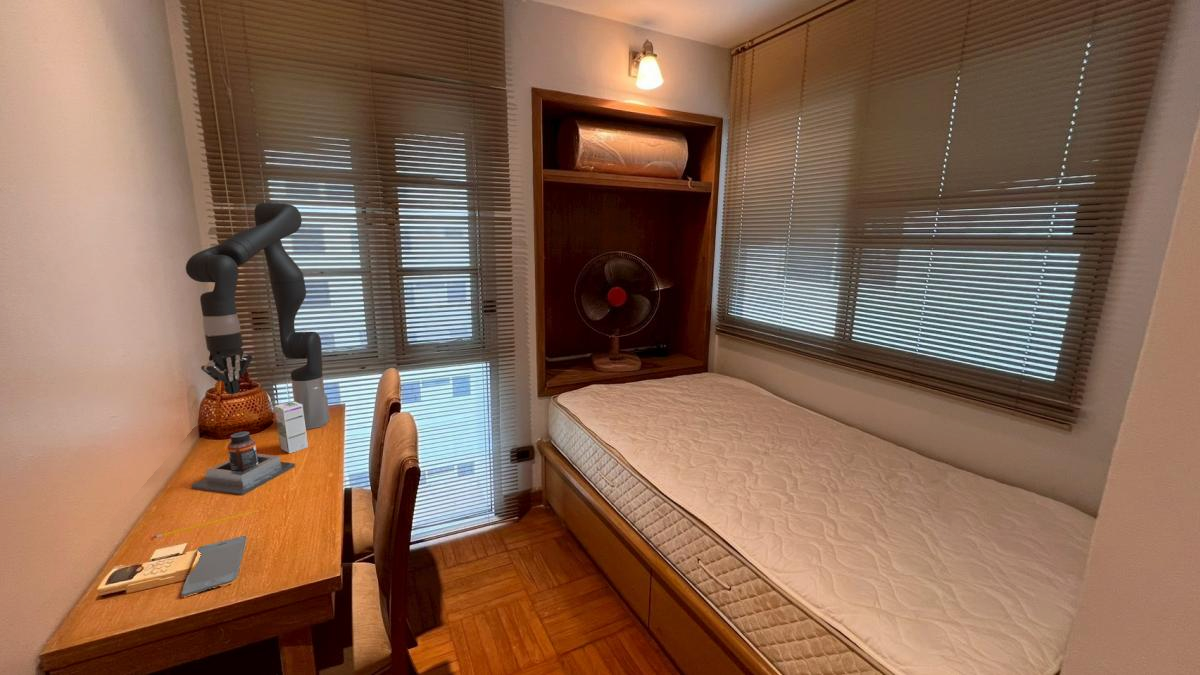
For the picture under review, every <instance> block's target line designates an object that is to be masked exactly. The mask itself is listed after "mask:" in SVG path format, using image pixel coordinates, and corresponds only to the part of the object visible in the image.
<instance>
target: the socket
mask: <svg viewBox="0 0 1200 675" xmlns="http://www.w3.org/2000/svg"><path fill="white" fill-rule="evenodd" d="M257 458H258V464H257V465H255V466H253V467H251V468H249V469H247V470H245V471H243V472H238V471H231V465H230V459H228V460H226V461H224V462H222V463H220V464H217V465H216V466H213V467H210V468H208V469H206V470H205V475H206V477H205V478H204V477H203V479H200V480H198V481H196V482H194V483H191V485H190V486H191V489H195V490H203V491H209V492H215V493H218V492H219V493H223V494H225V493H226V494H232V495H240V496H244V495H246V494H248V493H249V492H251V491H253V490H255V489H257V488H259V487H260V486H263V485H264V484H266V483H268V482H269V480H270V481H271V480H274V479H275V478H277V477H279V476H280V474H281V475H282V474H285V473H286V472H288V471H290V470H291V468H292V469H293V468H296V463H293V462H286V461H281V457H280V455H279V456H278V455H273V454H265V453H264V454H263V453H257ZM289 469H290V470H289ZM267 481H268V482H267ZM258 486H259V487H258ZM256 487H257V488H256Z"/></svg>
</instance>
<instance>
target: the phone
mask: <svg viewBox="0 0 1200 675" xmlns="http://www.w3.org/2000/svg"><path fill="white" fill-rule="evenodd" d="M246 539H247V536H246V535H242V536H237V537H234V538H230V539H226V540H221V541H217V542H214V543H209V544H206V545H202V546H200V547H198V548H197V551H199V552H200V553H201V554H200V555H201V556H200V558H199V561H198V563H197V564H196V567H195V569H194V570H193V571H192V572H191V573H190V575H188V574H187V577H186V579H185V583H184V584H183V587H182V590H181V592H180V595H181V596H188V595H190V594H194V593H198V594H199V593H201V592H202V591H203V592H206V591H205V590H207V589H210V588H213V587H216V586H219V585H223V584H227V583H230V582H232V581H234V580H235V579H236V578H237V576H238V572H239V568H240V569H241V567H240V564H241V565H242V563H241V560H242V561H243V559H242V556H243V557H244V554H243V552H244V553H245V550H244V548H245V549H246V546H245V544H247V541H246ZM247 540H248V539H247ZM197 551H196V552H197ZM239 573H240V572H239ZM238 577H239V576H238ZM219 587H220V586H219ZM210 590H211V589H210ZM207 591H208V590H207ZM181 596H180V597H181Z"/></svg>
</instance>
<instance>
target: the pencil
mask: <svg viewBox="0 0 1200 675" xmlns="http://www.w3.org/2000/svg"><path fill="white" fill-rule="evenodd" d="M253 512H257V513H258V510H257V509H256V510H251V511H247V512H244V513H240V514H236V515H232V516H227V517H223V518H220V519H216V520H213V521H212V520H211V521H207V522H205V523H200V524H197V525H192V526H189V527H185V528H182V529H176V530H173V531H170V532H169V531H168V532H166V533H165V532H164V533H162V534H157V535H154V536H152V539H153V538H156V539H159V538H158V537H160V538H164V537H168V536H170V535H169V534H172V535H174V534H173V533H175V534H178V533H177V532H179V533H182V532H181V531H183V532H186V531H185V530H187V531H190V530H189V529H191V530H194V529H193V528H195V529H198V528H197V527H199V528H203V527H206V526H210V525H214V524H217V523H216V522H218V523H220V522H219V521H222V522H225V521H224V520H226V521H228V519H230V520H232V519H231V518H234V519H236V518H235V517H237V516H242V515H245V516H247V515H246V514H249V515H251V514H250V513H253ZM253 514H254V513H253ZM242 517H243V516H242ZM213 523H214V524H213ZM209 524H210V525H209ZM202 526H203V527H202ZM167 535H168V536H167ZM163 536H164V537H163Z"/></svg>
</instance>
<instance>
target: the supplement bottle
mask: <svg viewBox="0 0 1200 675" xmlns="http://www.w3.org/2000/svg"><path fill="white" fill-rule="evenodd" d="M227 451H228V457H229V458H228V460H230V465H231V471H238V472H243V471H245V470H247V469H249V468H251V467H253V466H255V465H257V464H258V458H257V454H258V452H257V446H256V441H255V439H253V438H251V437H250V432H249V431H239V432H235V433H233V434H231V435H230V443H228V445H227Z"/></svg>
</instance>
